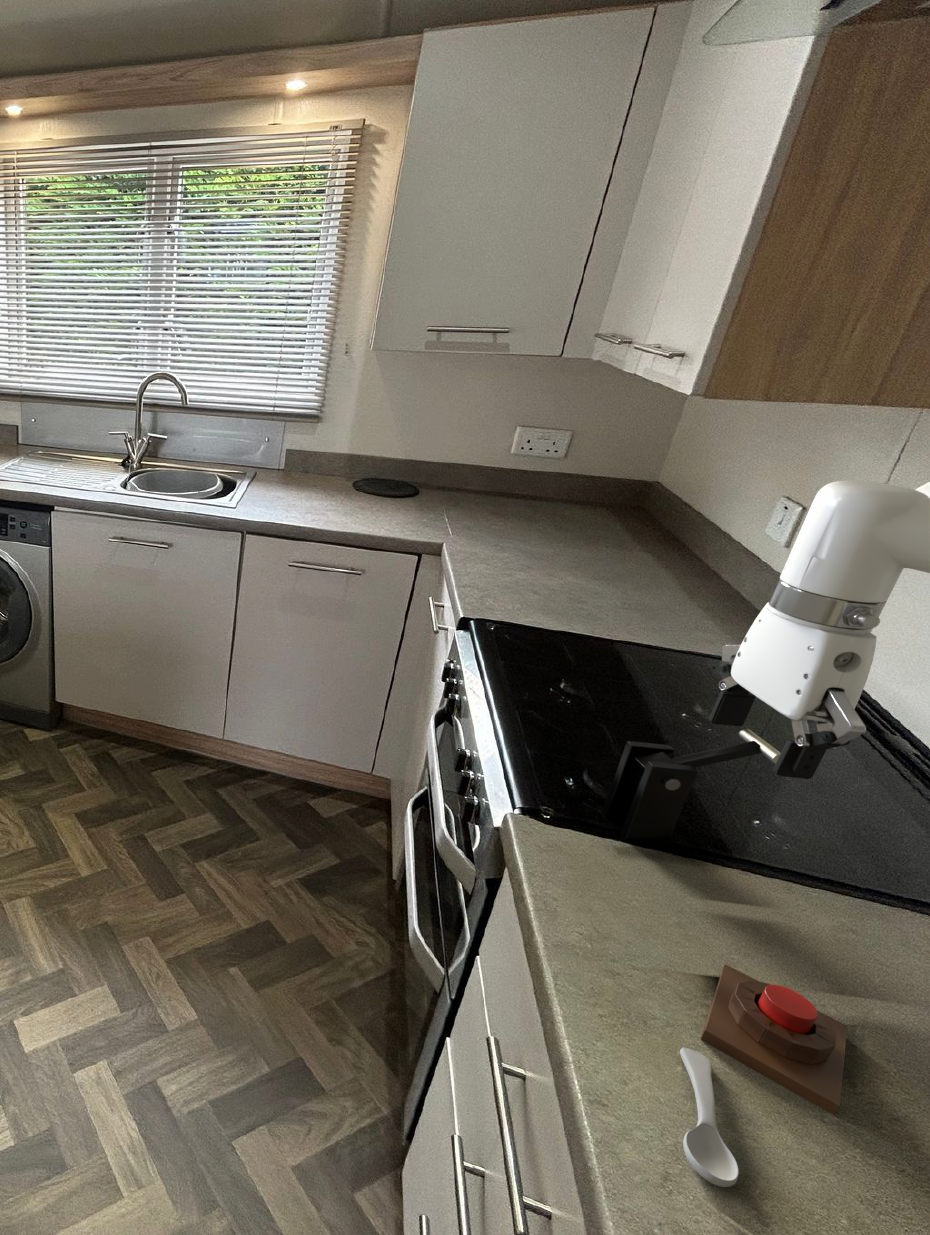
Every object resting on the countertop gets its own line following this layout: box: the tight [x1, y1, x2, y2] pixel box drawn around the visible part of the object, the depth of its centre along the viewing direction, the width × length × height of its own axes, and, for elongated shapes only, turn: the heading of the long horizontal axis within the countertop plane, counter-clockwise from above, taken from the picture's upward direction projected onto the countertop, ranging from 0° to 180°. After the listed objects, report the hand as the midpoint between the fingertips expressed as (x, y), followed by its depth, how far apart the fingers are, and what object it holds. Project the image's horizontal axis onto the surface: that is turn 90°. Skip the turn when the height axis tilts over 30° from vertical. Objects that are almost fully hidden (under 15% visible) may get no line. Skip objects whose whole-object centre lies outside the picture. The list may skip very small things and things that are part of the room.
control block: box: [700, 963, 848, 1116], centre depth 60 cm, size 10×8×3 cm
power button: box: [758, 984, 818, 1034], centre depth 59 cm, size 3×3×2 cm
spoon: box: [679, 1047, 740, 1188], centre depth 54 cm, size 3×12×2 cm, turn 144°
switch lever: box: [635, 728, 781, 777], centre depth 78 cm, size 12×5×2 cm, turn 81°
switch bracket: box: [600, 740, 699, 847], centre depth 81 cm, size 11×9×12 cm
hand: (756, 748), depth 76 cm, fingers open, 9 cm apart
